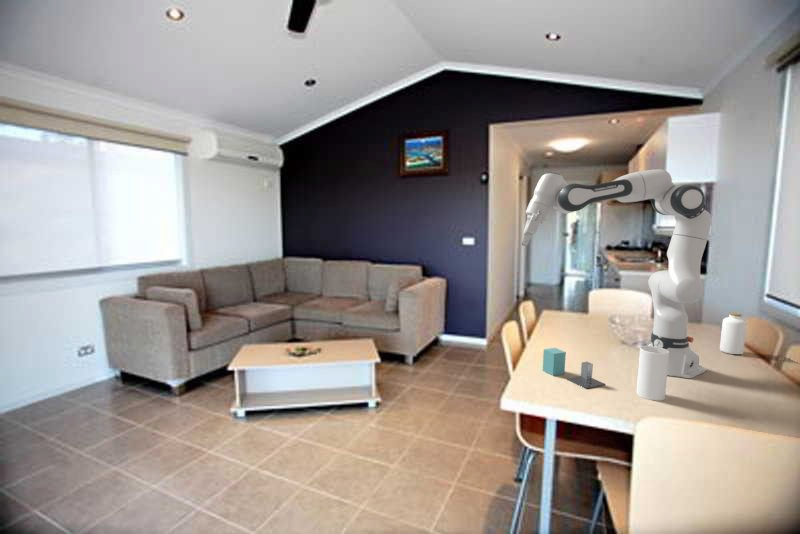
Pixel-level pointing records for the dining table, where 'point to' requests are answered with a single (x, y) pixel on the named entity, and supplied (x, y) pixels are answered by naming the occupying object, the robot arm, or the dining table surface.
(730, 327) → the potion bottle
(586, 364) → the post
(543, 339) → the dining table surface
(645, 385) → the cup
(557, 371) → the teal rectangular block
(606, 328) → the dining table surface
